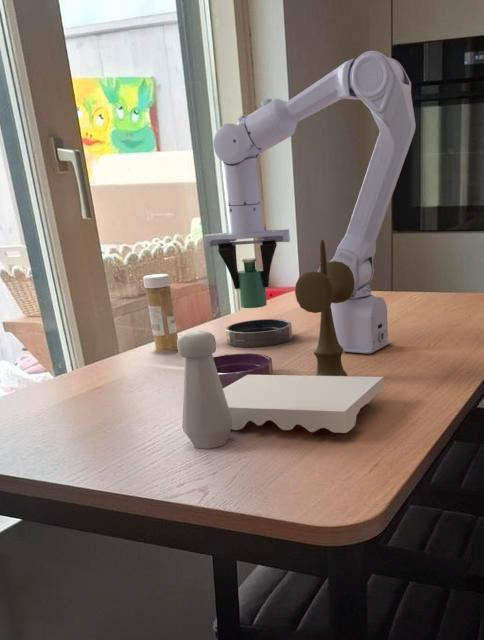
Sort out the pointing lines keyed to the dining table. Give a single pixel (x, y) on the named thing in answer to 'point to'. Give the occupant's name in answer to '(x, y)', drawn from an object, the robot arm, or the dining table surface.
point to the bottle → (251, 285)
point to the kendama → (326, 308)
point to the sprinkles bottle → (161, 312)
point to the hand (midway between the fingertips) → (252, 287)
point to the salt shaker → (203, 392)
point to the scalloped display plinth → (300, 400)
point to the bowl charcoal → (259, 333)
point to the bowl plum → (241, 366)
